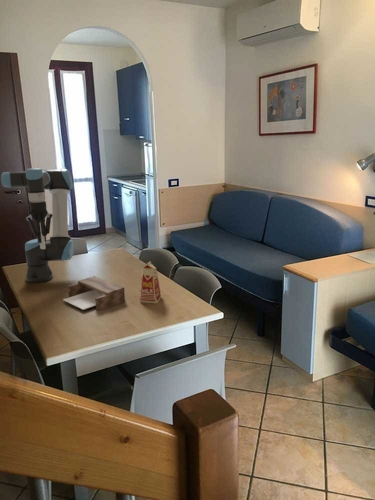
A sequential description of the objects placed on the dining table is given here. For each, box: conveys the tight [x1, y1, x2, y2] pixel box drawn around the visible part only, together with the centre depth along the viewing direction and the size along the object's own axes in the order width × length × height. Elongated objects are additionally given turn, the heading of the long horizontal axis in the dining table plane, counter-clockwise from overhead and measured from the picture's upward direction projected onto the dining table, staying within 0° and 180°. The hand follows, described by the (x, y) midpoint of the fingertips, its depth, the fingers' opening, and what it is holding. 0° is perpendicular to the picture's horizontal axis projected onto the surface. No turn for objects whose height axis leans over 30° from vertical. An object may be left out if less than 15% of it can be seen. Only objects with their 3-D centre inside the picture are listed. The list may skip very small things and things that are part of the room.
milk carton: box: [138, 261, 162, 304], centre depth 203 cm, size 9×9×20 cm
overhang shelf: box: [67, 275, 126, 312], centre depth 207 cm, size 16×26×7 cm, turn 46°
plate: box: [62, 290, 106, 311], centre depth 204 cm, size 19×19×2 cm
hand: (42, 248), depth 203 cm, fingers closed
